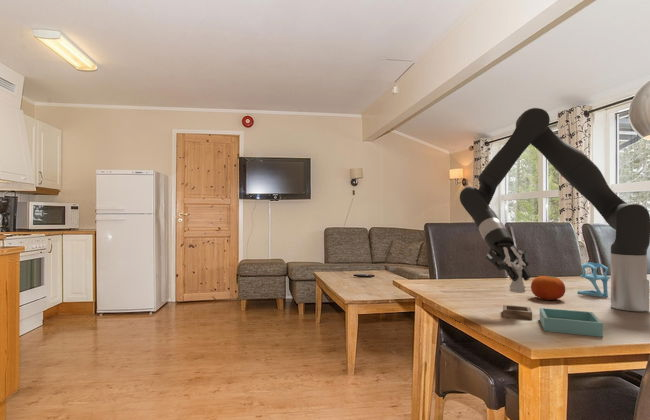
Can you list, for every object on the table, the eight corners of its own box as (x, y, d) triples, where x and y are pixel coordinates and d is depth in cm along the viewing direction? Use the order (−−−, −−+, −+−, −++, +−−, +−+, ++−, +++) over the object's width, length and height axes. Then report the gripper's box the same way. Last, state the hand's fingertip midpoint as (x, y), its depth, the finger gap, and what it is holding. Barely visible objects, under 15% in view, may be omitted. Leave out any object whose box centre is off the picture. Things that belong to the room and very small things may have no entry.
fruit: (526, 298, 145) (526, 276, 145) (537, 295, 152) (537, 273, 152) (559, 303, 137) (559, 279, 137) (569, 299, 144) (569, 276, 144)
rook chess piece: (521, 290, 123) (520, 263, 123) (529, 293, 119) (528, 265, 119) (506, 290, 123) (506, 263, 123) (513, 293, 119) (513, 265, 119)
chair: (596, 297, 147) (596, 264, 147) (576, 293, 155) (577, 261, 155) (613, 296, 150) (613, 263, 150) (593, 292, 158) (593, 261, 158)
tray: (591, 324, 111) (591, 311, 111) (602, 336, 100) (602, 323, 100) (539, 319, 116) (539, 307, 116) (544, 330, 105) (544, 317, 105)
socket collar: (530, 313, 123) (530, 306, 123) (532, 319, 116) (532, 312, 116) (502, 311, 126) (502, 304, 126) (503, 316, 119) (503, 309, 119)
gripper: (480, 227, 127) (506, 272, 115) (520, 226, 130) (549, 270, 118) (470, 243, 132) (495, 288, 120) (509, 242, 135) (536, 285, 123)
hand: (522, 279), depth 119 cm, fingers closed on rook chess piece, 3 cm apart
